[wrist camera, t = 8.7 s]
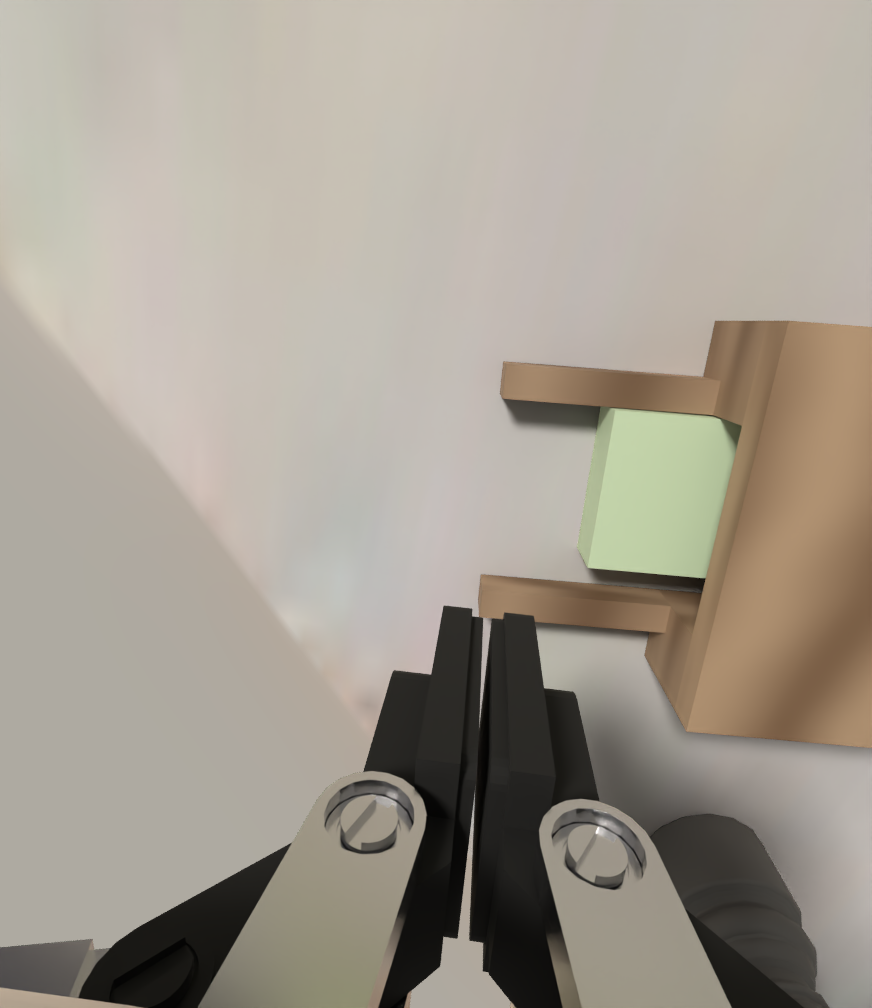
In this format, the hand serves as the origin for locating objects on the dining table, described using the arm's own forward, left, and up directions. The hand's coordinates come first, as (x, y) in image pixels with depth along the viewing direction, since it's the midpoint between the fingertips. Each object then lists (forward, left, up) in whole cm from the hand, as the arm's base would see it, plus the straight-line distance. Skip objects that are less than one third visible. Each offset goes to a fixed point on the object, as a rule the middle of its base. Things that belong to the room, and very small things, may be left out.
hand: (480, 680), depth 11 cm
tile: (-5, -9, -14) cm, 17 cm away
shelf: (-6, -8, -13) cm, 16 cm away
